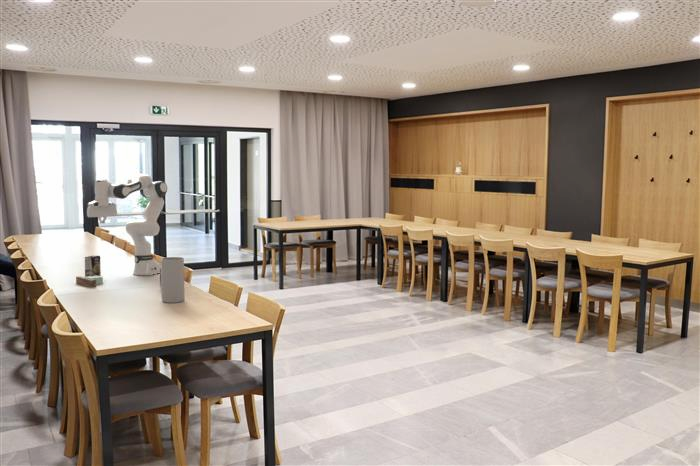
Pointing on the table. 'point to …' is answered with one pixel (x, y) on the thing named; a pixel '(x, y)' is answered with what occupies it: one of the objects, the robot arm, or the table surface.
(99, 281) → the block
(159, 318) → the table surface
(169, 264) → the cylinder vase
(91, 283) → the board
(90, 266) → the coffee box
